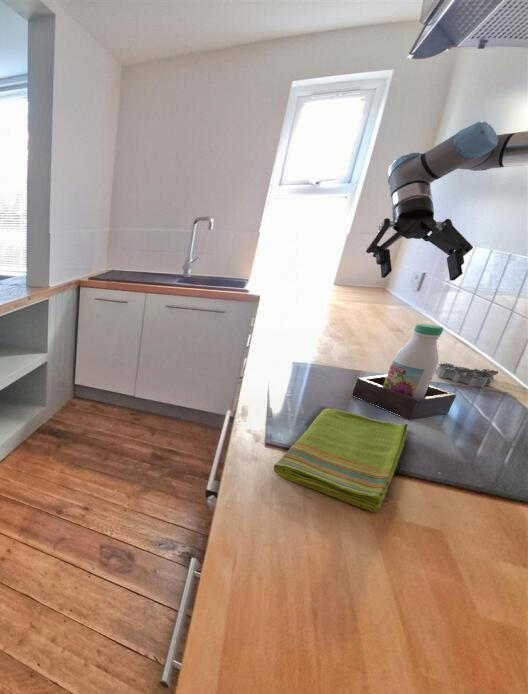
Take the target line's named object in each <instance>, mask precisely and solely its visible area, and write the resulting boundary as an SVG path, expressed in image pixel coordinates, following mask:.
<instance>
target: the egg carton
mask: <svg viewBox="0 0 528 694" xmlns="http://www.w3.org/2000/svg"><path fill="white" fill-rule="evenodd" d="M498 374H499V371H498V370H494V369H489V368H487V369H486V368H483V369H479V368H468V367H465V366H456V365H454V364H452V363H450V362H449V363H448V362H445V363H442V362H441V363H438V366H437V368H436V370H435V375H436V376H437V377H438V378H442V379H449V380H452V382H456V383H463V384H467V385H468V386H469V387H472V388H473V387H475V388H479V389H480V388H484V387H485V386H487V387H489V386H491V384H492V382H493V380H494V378H495V376H497V375H498Z"/></svg>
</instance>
